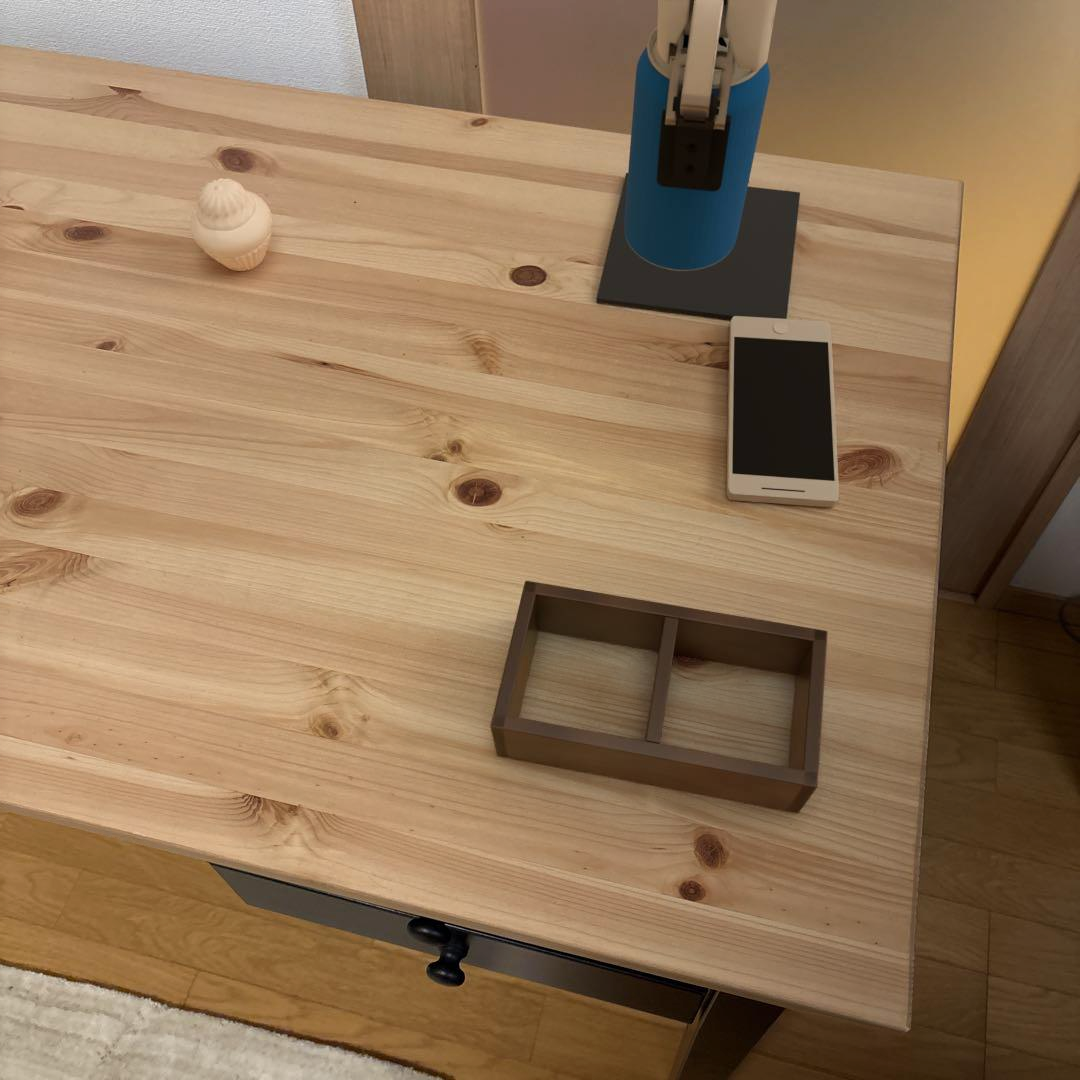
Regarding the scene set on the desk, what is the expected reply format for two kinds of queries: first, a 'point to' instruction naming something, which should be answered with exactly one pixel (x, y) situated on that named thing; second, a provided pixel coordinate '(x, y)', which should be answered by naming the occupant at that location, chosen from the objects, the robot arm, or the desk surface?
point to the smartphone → (781, 412)
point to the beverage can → (685, 214)
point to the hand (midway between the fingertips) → (696, 135)
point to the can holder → (665, 695)
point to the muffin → (231, 224)
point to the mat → (713, 267)
